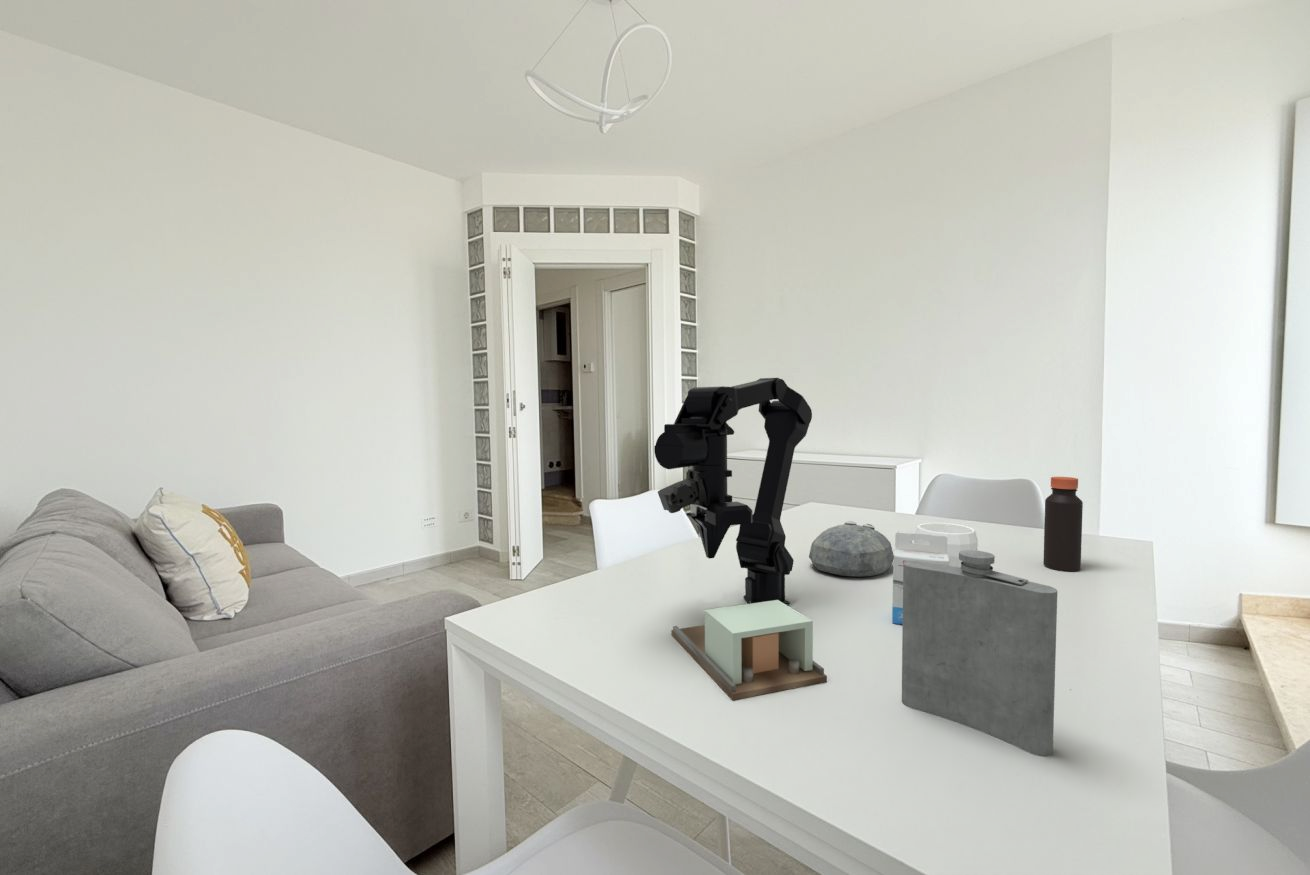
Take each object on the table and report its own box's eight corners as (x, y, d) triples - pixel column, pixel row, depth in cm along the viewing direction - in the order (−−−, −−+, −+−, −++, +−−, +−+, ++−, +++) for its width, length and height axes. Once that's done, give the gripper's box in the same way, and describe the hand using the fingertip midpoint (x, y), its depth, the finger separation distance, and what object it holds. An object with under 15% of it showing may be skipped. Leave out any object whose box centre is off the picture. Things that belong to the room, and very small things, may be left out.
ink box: (891, 624, 97) (892, 537, 96) (892, 614, 101) (893, 531, 100) (948, 632, 93) (949, 542, 92) (947, 621, 97) (948, 535, 97)
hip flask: (897, 702, 71) (899, 544, 70) (911, 691, 74) (913, 538, 73) (1048, 760, 60) (1053, 570, 59) (1058, 743, 62) (1063, 563, 61)
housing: (777, 643, 87) (777, 599, 86) (812, 669, 78) (812, 620, 78) (705, 656, 83) (704, 610, 82) (733, 684, 74) (732, 633, 74)
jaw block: (778, 668, 79) (778, 633, 79) (752, 673, 78) (752, 637, 77) (763, 656, 83) (763, 622, 83) (739, 661, 82) (738, 626, 81)
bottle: (1039, 567, 127) (1042, 478, 126) (1047, 561, 132) (1050, 475, 131) (1076, 573, 123) (1079, 480, 121) (1084, 567, 127) (1086, 477, 126)
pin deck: (748, 623, 98) (748, 609, 98) (826, 681, 77) (826, 664, 77) (671, 634, 93) (671, 620, 93) (732, 700, 72) (732, 682, 72)
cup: (989, 580, 119) (990, 534, 119) (929, 580, 119) (930, 534, 119) (958, 563, 132) (959, 521, 131) (904, 564, 132) (905, 522, 131)
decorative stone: (791, 568, 130) (791, 525, 129) (841, 552, 143) (842, 512, 142) (863, 587, 116) (864, 538, 116) (911, 567, 130) (912, 523, 129)
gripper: (645, 460, 100) (646, 549, 101) (685, 472, 82) (686, 579, 83) (703, 458, 104) (704, 543, 105) (754, 468, 86) (754, 571, 87)
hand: (710, 557), depth 95 cm, fingers closed
